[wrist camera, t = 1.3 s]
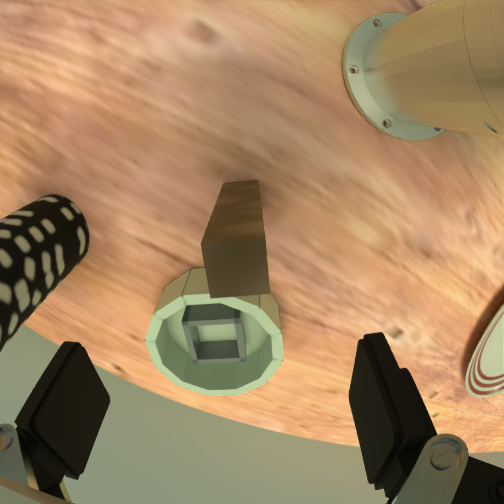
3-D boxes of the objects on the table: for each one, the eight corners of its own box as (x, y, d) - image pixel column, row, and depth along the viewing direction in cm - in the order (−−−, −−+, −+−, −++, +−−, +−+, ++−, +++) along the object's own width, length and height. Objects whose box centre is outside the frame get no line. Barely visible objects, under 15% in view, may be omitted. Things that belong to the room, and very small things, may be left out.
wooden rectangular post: (257, 180, 27) (265, 238, 15) (260, 212, 29) (269, 293, 16) (223, 183, 28) (200, 243, 15) (227, 215, 29) (210, 298, 16)
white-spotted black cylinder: (103, 236, 29) (-20, 372, 11) (64, 280, 31) (-36, 405, 13) (53, 178, 27) (-102, 262, 8) (19, 228, 29) (-103, 324, 10)
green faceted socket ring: (275, 261, 31) (279, 287, 26) (281, 360, 36) (284, 391, 31) (145, 272, 31) (130, 298, 26) (173, 366, 36) (166, 396, 32)
